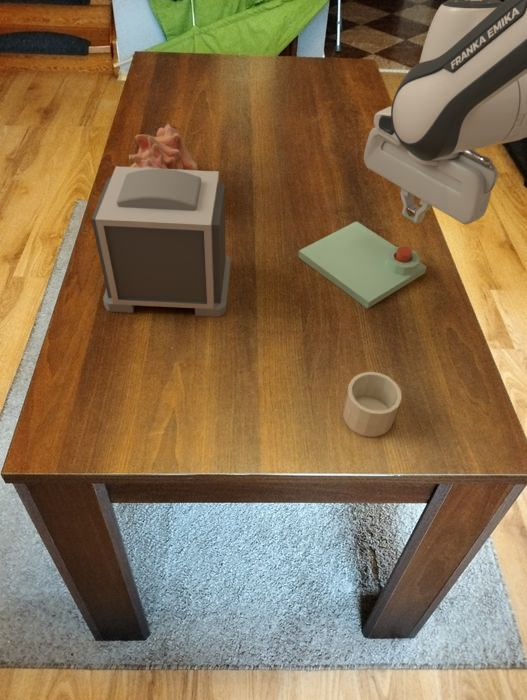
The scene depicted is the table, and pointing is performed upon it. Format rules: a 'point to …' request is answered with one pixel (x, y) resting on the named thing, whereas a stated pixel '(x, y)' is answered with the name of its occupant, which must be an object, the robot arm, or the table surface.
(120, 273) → the alarm clock
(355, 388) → the beige cup
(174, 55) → the table surface
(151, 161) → the seashell
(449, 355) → the table surface
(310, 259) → the scale
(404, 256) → the button
